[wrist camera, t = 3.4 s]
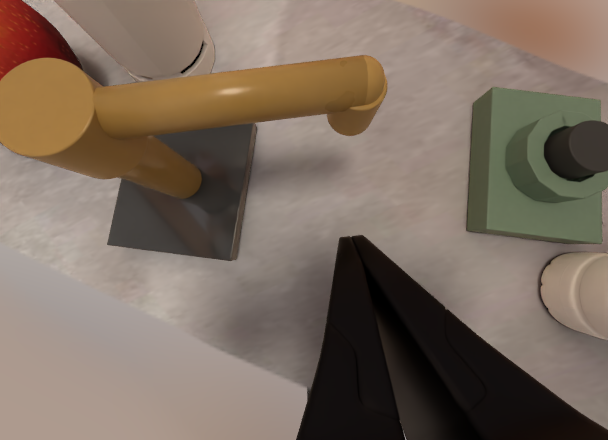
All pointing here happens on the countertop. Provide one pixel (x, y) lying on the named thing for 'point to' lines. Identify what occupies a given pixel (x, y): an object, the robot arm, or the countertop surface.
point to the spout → (171, 107)
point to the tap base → (199, 212)
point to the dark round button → (578, 150)
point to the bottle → (147, 35)
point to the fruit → (28, 37)
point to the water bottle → (578, 291)
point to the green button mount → (530, 169)
